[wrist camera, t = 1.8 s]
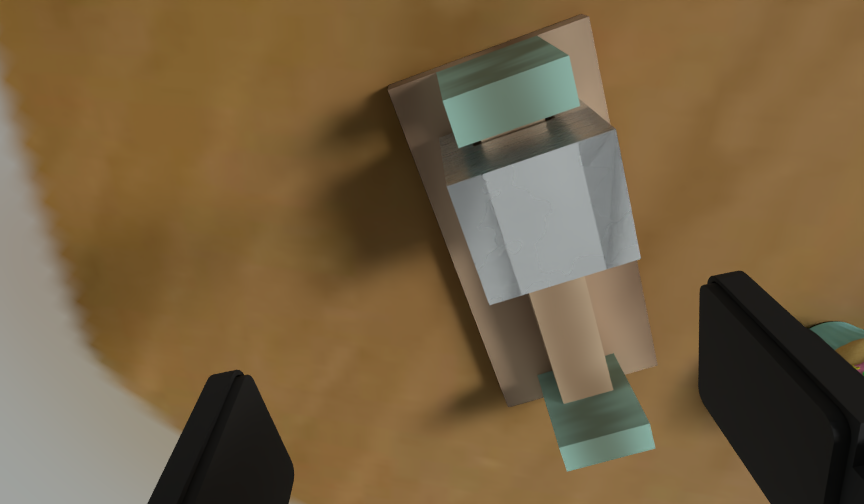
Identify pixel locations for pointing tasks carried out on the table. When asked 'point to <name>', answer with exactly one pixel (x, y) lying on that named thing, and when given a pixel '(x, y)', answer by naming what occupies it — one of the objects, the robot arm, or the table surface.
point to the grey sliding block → (542, 203)
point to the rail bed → (515, 312)
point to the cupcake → (844, 341)
